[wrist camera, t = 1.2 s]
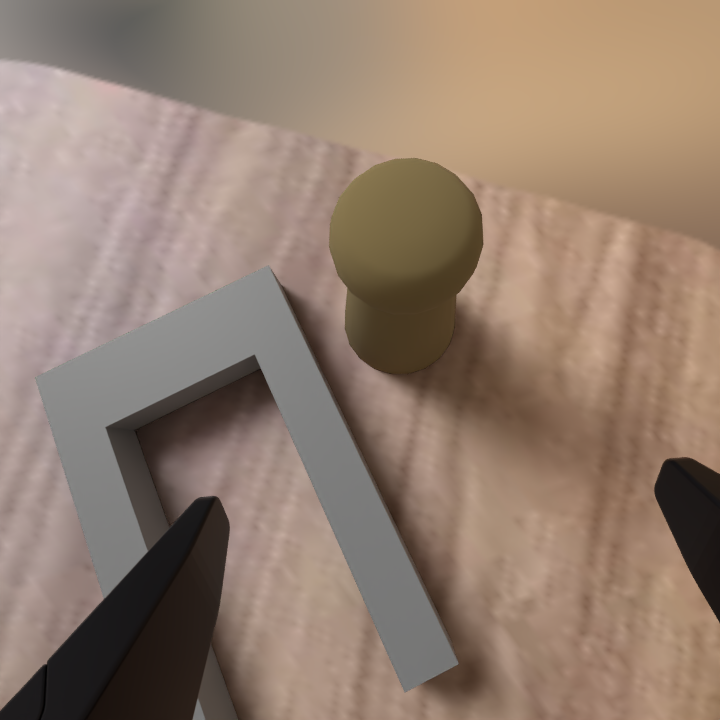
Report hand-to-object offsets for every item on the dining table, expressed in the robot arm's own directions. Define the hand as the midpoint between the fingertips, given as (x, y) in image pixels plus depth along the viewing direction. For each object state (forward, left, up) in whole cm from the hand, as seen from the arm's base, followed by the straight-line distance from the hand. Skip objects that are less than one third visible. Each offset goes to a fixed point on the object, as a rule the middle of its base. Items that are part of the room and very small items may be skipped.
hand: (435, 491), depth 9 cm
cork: (+7, -3, -14) cm, 16 cm away
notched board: (+2, +8, -14) cm, 16 cm away
